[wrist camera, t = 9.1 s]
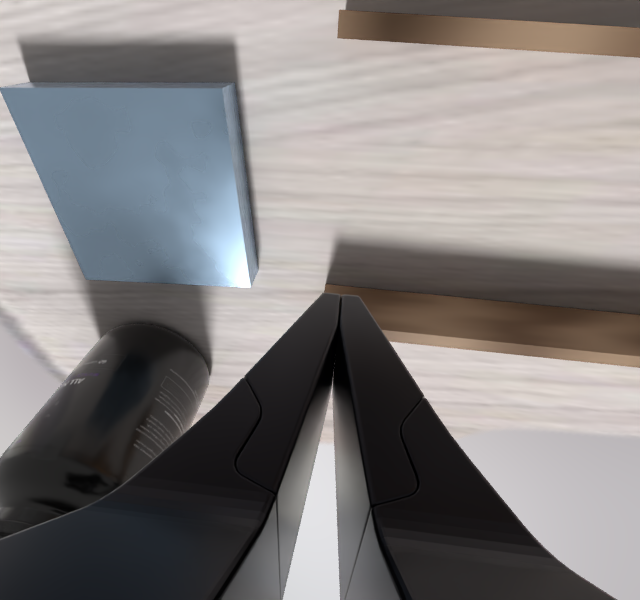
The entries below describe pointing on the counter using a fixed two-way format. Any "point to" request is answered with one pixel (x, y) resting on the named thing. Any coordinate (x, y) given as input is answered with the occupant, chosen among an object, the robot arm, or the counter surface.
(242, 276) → the cover plate
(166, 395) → the supplement bottle
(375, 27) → the open box
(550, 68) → the counter surface
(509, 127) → the counter surface
